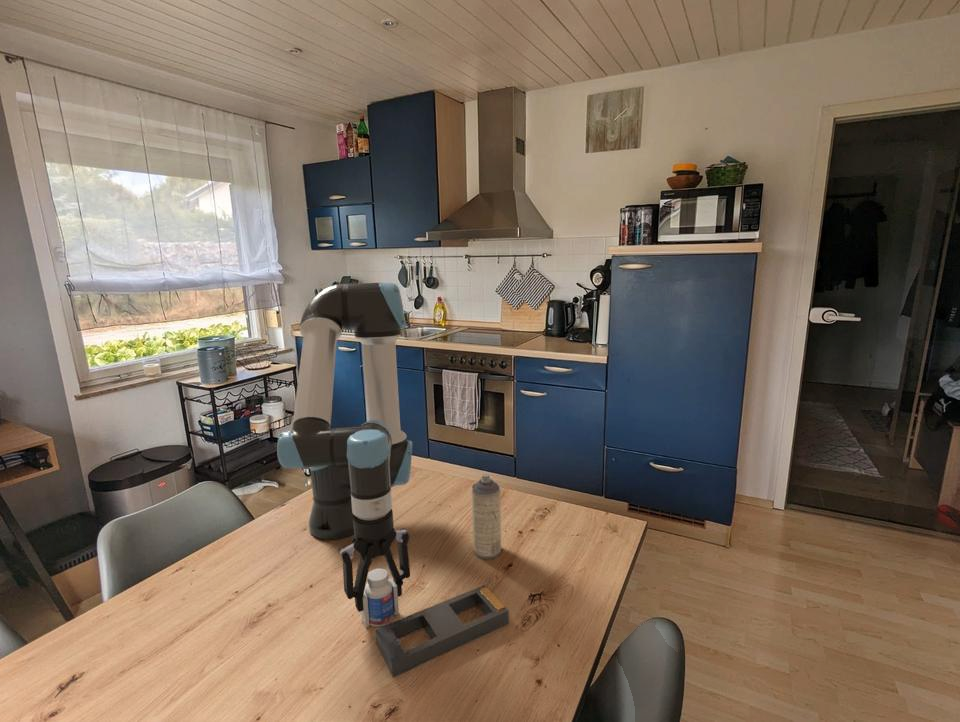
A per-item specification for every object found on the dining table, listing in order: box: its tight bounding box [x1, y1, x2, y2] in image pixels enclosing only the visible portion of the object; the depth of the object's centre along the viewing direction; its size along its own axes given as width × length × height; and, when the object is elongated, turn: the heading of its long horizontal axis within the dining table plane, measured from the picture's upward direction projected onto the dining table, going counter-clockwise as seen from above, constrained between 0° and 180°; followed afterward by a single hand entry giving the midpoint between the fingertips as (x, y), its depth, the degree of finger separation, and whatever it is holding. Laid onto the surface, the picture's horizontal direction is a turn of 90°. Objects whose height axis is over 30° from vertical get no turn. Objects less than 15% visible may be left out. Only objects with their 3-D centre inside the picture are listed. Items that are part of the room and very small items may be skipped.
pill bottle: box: [364, 568, 395, 628], centre depth 97 cm, size 6×5×10 cm
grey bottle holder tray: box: [374, 584, 510, 678], centre depth 93 cm, size 9×24×3 cm, turn 120°
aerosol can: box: [471, 473, 502, 560], centre depth 117 cm, size 7×7×20 cm
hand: (380, 616), depth 98 cm, fingers closed on pill bottle, 5 cm apart
